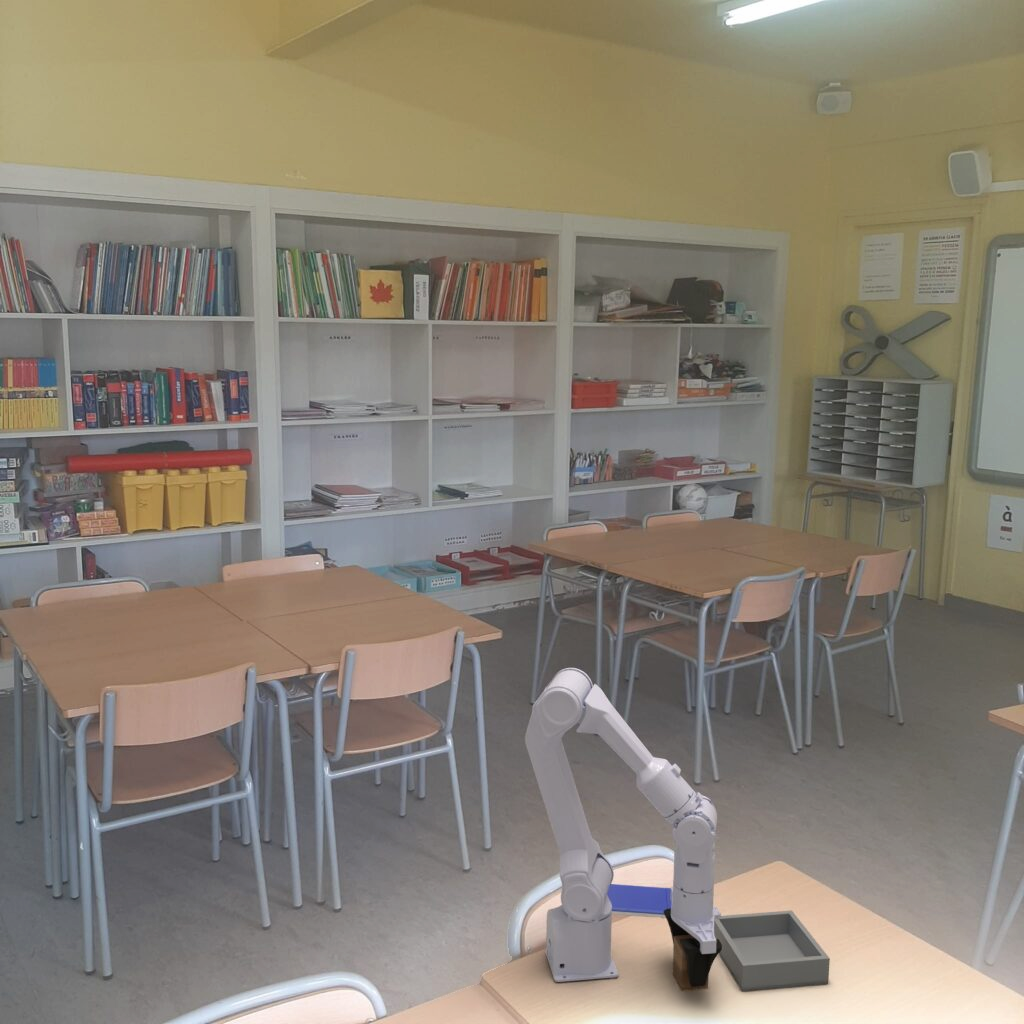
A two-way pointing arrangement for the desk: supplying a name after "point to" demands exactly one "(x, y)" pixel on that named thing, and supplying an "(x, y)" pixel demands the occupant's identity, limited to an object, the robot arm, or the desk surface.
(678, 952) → the walnut block
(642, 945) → the desk surface
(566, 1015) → the desk surface
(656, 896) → the hard drive
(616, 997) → the desk surface
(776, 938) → the grey bin
